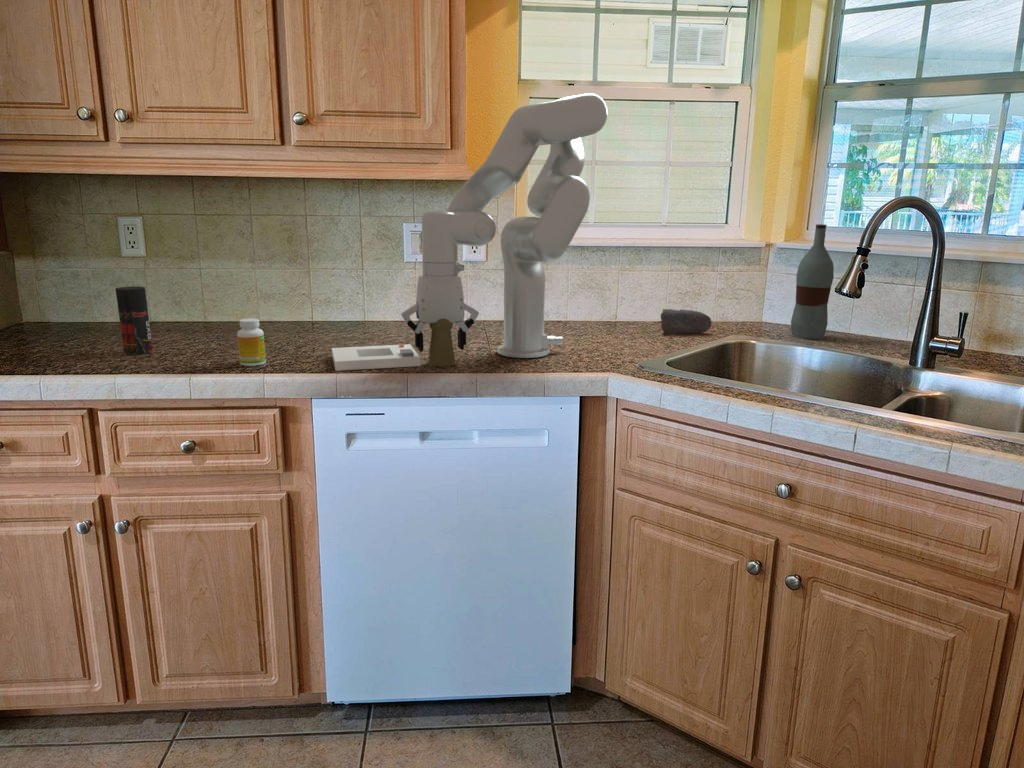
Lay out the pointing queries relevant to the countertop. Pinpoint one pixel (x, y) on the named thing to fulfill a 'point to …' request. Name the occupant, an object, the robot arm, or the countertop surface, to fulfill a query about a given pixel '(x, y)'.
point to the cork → (441, 344)
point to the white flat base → (374, 357)
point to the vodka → (813, 290)
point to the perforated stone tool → (684, 322)
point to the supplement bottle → (251, 343)
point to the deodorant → (134, 320)
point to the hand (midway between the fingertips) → (440, 349)
